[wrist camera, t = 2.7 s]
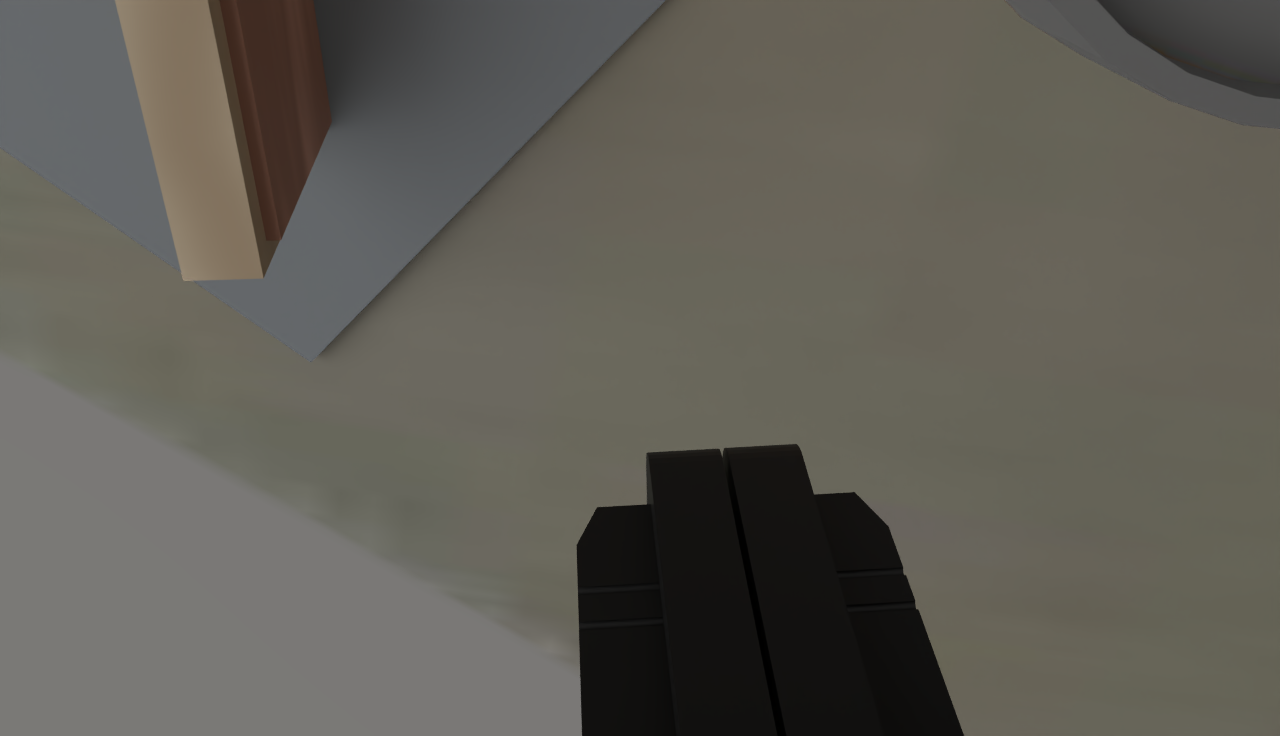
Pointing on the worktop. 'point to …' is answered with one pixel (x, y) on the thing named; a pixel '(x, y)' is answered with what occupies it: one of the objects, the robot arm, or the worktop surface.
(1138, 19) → the reusable coffee cup
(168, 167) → the birch tile
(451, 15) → the rubber mat
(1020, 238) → the worktop surface
